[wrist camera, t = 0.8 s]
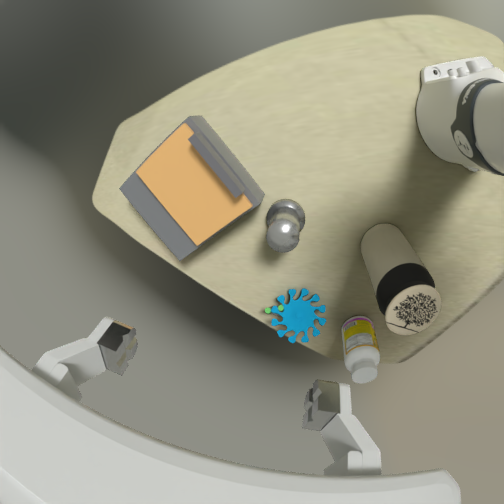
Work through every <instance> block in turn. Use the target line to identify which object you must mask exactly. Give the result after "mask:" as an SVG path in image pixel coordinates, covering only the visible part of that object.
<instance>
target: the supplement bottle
mask: <svg viewBox="0 0 504 504" xmlns="http://www.w3.org/2000/svg"><path fill="white" fill-rule="evenodd" d="M341 331H342V341H343V351H344V362H345V366H346V368H347V369H348V370H349V371H350V372H351V378H352V380H353V381H354V382H356V383H367V382H370V381H372V380H373V379H375V378H376V376H377V374H378V371H377V365H378V364H379V361H380V353H379V348H378V344H377V339H376V335H375V331H374V327H373V323H372V321H371V320H370V319H369V318H367V317H365V316H355V317H352V318H350V319H348V320H347V321H346V322H345V323H344V324H343V326H342V330H341Z"/></svg>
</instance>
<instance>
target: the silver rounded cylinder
mask: <svg viewBox="0 0 504 504" xmlns="http://www.w3.org/2000/svg"><path fill="white" fill-rule="evenodd" d="M267 224H268V226H269V228H268V231H267V235H266V239H267V242H268V244H269V246H270V247H271V248H272V249H273V250H275V251H278V252H289V251H291V250H293V249H294V248H295V247H296V246H297V244H298V242H299V232H300V231H301V230H302V229H303V227H304V224H305V213H304V210H303V208H302V207H301V206H300V205H299V204H298V203H297V202H295V201H293V200H290V199H282V200H279V201H276V202H275V203H274V204H272V205H271V207H270V209H269V211H268V214H267Z"/></svg>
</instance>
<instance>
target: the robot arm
mask: <svg viewBox="0 0 504 504" xmlns="http://www.w3.org/2000/svg"><path fill="white" fill-rule="evenodd" d="M433 70H434V71H435V72H436V75H435V74H434V73H433ZM421 82H422V88H421V91H420V94H419V97H418V101H417V107H416V115H417V123H418V127H419V130H420V133H421V135H422V137H423V139H424V141H425V143H426V144H427V146H428V147H429V148H430V150H431V151H432V152H433V153H434V154H435V155H437V156H438V157H439V158H441V159H443V160H445V161H448V162H451V163H458V164H461V165H463V166H464V167H465V168H467V169H468V170H470V171H473V172H476V171H478V170H483V171H487V172H491V173H493V174H497V175H502V176H504V73H503V72H502V71H501V70H500V69H499V68H497V67H494V66H493V65H492V63H491V62H490V61H489V60H488V59H486V58H485V57H483V56H478V57H471V58H465V59H460V60H454V61H449V62H444V63H439V64H435V65H430V66H426V67H424V68H422V70H421ZM135 335H136V329H135V328H132V327H130V326H128V325H126V324H123V323H121V322H119V321H116V320H114V319H112V318H109V317H105V318H103V320H102V321H101V322H100V323H99V324H98V326H97V327H96V328H95V329H94V331H93V332H92V333H91V334H90V336H89V337H88V338H83V339H80V340H77V341H75V342H72V343H69V344H67V345H64V346H62V347H59V348H56V349H54V350H51V351H48V352H46V353H45V354H44V355H43V356H42V357H41V359H40V360H39V361H38V362H37V364H36V365H35V366H34V367H33V369H32V370H30V369H29V368H27V367H26V366H24V365H23V364H22V363H21V362H19V361H18V360H17V359H15V358H14V357H13V356H12V355H11V354H9V353H8V352H7V351H6V350H5V349H3V348H2V347H1V346H0V504H461V493H460V488H459V485H458V484H457V482H456V481H455V480H454V479H453V478H452V476H451V475H450V474H449V473H448V472H447V471H446V470H445V469H442V468H440V469H439V468H438V469H432V470H425V471H418V472H410V473H402V474H389V475H381V456H380V450H379V449H378V447H377V446H376V445H375V443H374V442H373V440H372V439H371V438H370V436H369V435H368V433H367V432H366V431H365V429H364V428H363V426H362V425H361V424H360V422H359V421H358V420H357V418H356V417H355V415H352V410H351V396H350V386H349V384H342V383H337V382H331V381H324V380H315V382H314V383H313V388H311V389H309V391H308V392H307V395H306V398H305V402H304V408H305V410H306V413H305V415H304V416H303V427H302V428H304V429H310V430H316V431H320V433H321V435H322V437H323V439H324V441H325V443H326V445H327V447H328V449H329V451H330V453H331V455H332V457H333V459H334V461H335V462H334V463H333V464H331V465H330V466H328V467H327V468H325V469H324V475H317V474H305V473H295V472H286V471H280V470H273V469H266V468H260V467H255V466H250V465H245V464H240V463H235V462H231V461H227V460H223V459H219V458H215V457H212V456H208V455H204V454H201V453H198V452H194V451H191V450H188V449H185V448H182V447H179V446H176V445H173V444H170V443H167V442H164V441H162V440H159V439H156V438H154V437H151V436H149V435H146V434H144V433H142V432H139V431H137V430H135V429H132V428H130V427H128V426H125V425H123V424H121V423H119V422H117V421H115V420H113V419H111V418H109V417H107V416H105V415H103V414H101V413H99V412H97V411H95V410H93V409H91V408H89V407H88V406H86V405H84V404H82V403H81V402H79V401H80V400H81V398H82V396H81V393H80V391H79V389H78V387H77V386H79V385H80V384H82V383H84V382H86V381H88V380H89V379H91V378H93V377H95V376H97V375H98V374H100V373H102V372H104V371H106V369H108V370H110V371H112V372H114V373H117V374H119V375H121V376H122V375H123V373H124V371H125V370H126V368H127V367H128V360H130V359H132V358H133V357H134V355H135V353H136V350H137V344H138V343H137V339H136V338H135V337H134V336H135Z"/></svg>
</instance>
